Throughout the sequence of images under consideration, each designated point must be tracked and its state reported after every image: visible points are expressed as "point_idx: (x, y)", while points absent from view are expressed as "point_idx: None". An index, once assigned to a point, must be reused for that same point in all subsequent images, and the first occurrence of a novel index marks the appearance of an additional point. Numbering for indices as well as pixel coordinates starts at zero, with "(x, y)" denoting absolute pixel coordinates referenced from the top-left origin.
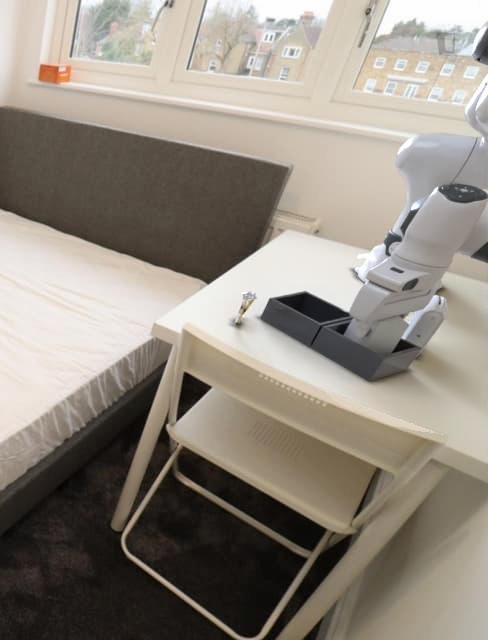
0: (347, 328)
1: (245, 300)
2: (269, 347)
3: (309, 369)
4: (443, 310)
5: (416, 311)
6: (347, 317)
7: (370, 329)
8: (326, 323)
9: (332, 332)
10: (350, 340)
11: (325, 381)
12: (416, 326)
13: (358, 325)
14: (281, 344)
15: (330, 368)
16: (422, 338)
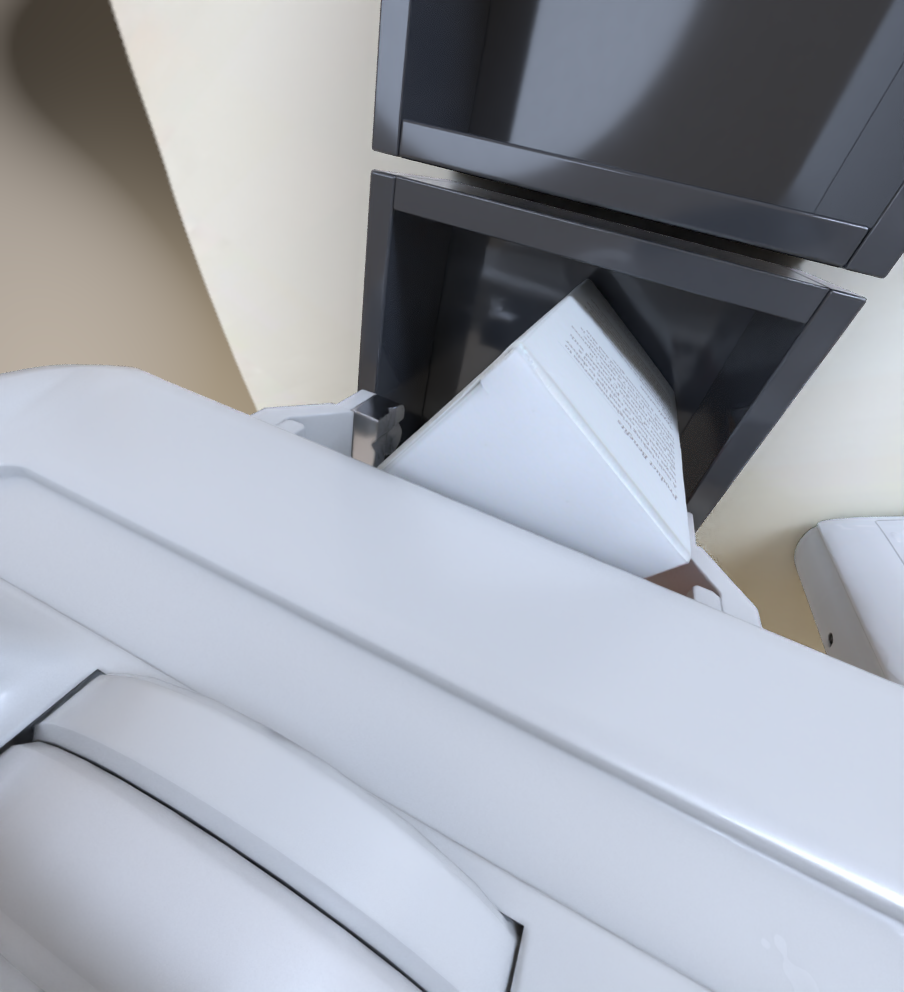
0: (565, 297)
1: None
2: (239, 20)
3: (274, 286)
4: None
5: None
6: (755, 218)
7: (372, 465)
8: (442, 160)
9: (367, 263)
10: (362, 378)
11: (267, 361)
12: (877, 657)
13: (320, 406)
14: (327, 37)
15: (357, 340)
16: (825, 649)
